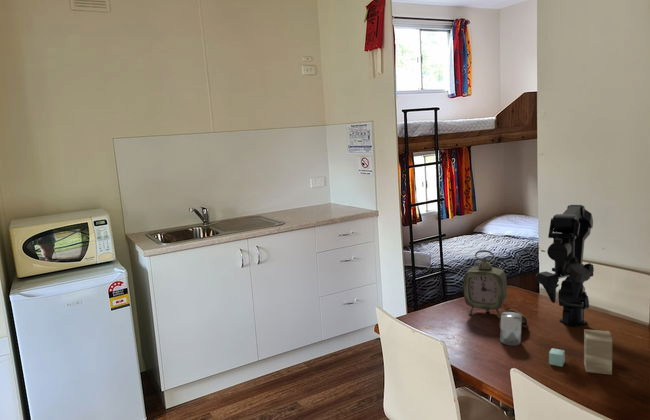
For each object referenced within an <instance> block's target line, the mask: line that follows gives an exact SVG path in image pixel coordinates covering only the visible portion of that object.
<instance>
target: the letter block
mask: <svg viewBox="0 0 650 420" xmlns="http://www.w3.org/2000/svg"><path fill="white" fill-rule="evenodd" d="M565 358H566V352H565V350H564V349H558V348H553V347H552V348H551V349H550V350H549V351H548V365H550V366H551V365H552V366H557V367H563V366H564V364H565V362H566V361H565V360H566V359H565Z"/></svg>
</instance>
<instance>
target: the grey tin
mask: <svg viewBox="0 0 650 420" xmlns="http://www.w3.org/2000/svg"><path fill="white" fill-rule="evenodd" d="M502 312H503V313H502ZM502 312H500V314H501V327H499V329H500V331H499V341H500V343H502V344H504V345H505V346H507V345H508V346H519V345H520V344H521V342H522V341H521V340H522V325H521V324H522V316H521V315H520V314H518V313H515V312H504V311H502Z"/></svg>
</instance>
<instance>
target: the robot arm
mask: <svg viewBox="0 0 650 420" xmlns="http://www.w3.org/2000/svg"><path fill="white" fill-rule="evenodd" d="M593 227H594V218H593V215H592V213H591V212H590V211H588V210H587V209H586V207H585V205H582V204H570V205H567V207H566V209H565V211H563V213H557V214H555V215H553V217H551V219H550V223H549V229H548V236H547V237H548V238H549V239H553V240H552V241H553V242H552V243H551V244H550V245H549V246H548V247H547V256H548V257H549V258H550V259H551V260H552V261H554V267H551V272H549V271H541V272H537V273H536V274H535V282H537V283H538V284H539V285H540V284H541V285H542V286H543V288H544V290H545V292H546V294H547V296H548V298H549V300H550V302H551V303H552V304H555V303H556V298H557V299H558V305H559V307H562V318H561V319H559V322H561V323H563V324H567V325H568V326H570V327H579V326H583V325H587V324H588V323H589V321H586V320H585V310H586V309H589V308H590V301H589V296H588V294H587V292H586V287H585V285H584V283H585V282H587V281H589V280H590V279H591V277H594V273H595V272H594V270H595V269H594V265H593V264H592V263H589V262H588V263H585V264H583V260H584V250H585V249H584V248H585V242H586V240H587V238H588V237H589V236H590V234H591V231H592V229H593ZM553 272H554V273H553ZM564 278H565V279H564ZM560 279H563V280H562V281H561V283H560V284H559V281H560ZM559 286H560V288H559V289H558V297H557V288H558V287H559Z"/></svg>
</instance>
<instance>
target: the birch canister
mask: <svg viewBox="0 0 650 420" xmlns="http://www.w3.org/2000/svg"><path fill="white" fill-rule="evenodd" d="M583 364H584V369H585V372H586V373H590V374H591V373H592V374H603V375H613V337H612V334H611V332H610V331H609V330H598V329H583Z"/></svg>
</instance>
